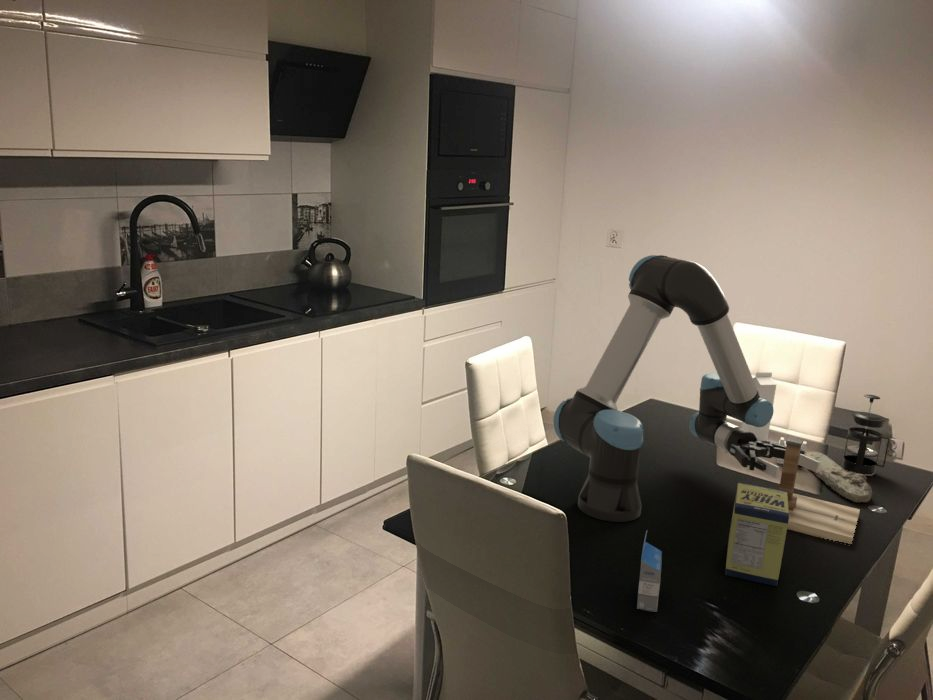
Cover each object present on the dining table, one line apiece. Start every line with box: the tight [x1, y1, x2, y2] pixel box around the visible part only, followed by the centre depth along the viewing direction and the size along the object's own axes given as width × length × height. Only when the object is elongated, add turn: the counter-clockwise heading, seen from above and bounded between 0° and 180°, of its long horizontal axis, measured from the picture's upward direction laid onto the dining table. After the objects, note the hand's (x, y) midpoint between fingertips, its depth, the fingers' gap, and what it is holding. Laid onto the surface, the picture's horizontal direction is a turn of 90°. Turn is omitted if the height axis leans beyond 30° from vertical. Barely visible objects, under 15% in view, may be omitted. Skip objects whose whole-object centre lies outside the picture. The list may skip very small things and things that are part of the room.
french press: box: [840, 394, 891, 474], centre depth 231 cm, size 12×9×23 cm
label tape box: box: [636, 529, 663, 613], centre depth 152 cm, size 9×4×12 cm, turn 164°
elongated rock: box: [805, 450, 873, 503], centre depth 225 cm, size 35×5×10 cm
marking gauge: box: [778, 437, 804, 511], centre depth 197 cm, size 5×5×17 cm
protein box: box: [724, 481, 789, 587], centre depth 169 cm, size 10×16×16 cm
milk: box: [741, 371, 777, 442], centre depth 255 cm, size 6×6×22 cm
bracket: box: [776, 436, 807, 466], centre depth 240 cm, size 13×7×8 cm, turn 158°
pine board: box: [787, 492, 861, 545], centre depth 197 cm, size 20×21×2 cm
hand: (798, 470), depth 195 cm, fingers open, 13 cm apart
